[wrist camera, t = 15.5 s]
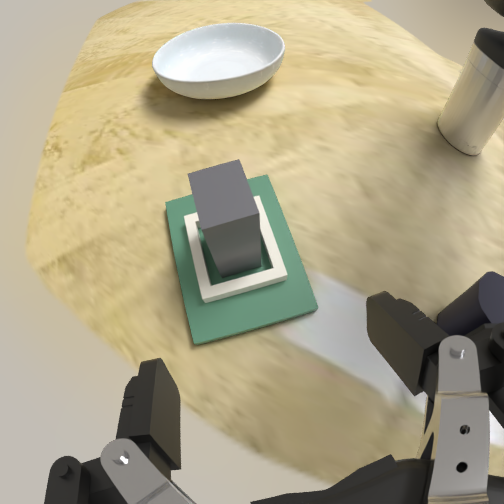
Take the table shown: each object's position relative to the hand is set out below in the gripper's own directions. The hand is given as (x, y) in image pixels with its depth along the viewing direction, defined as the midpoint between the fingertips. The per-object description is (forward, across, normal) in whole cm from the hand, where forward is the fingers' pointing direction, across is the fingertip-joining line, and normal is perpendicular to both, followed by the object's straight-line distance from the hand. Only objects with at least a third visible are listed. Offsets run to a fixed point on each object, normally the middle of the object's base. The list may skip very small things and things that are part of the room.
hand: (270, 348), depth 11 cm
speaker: (+10, -20, +15) cm, 27 cm away
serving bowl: (+43, -6, -18) cm, 47 cm away
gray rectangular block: (+20, 0, +3) cm, 20 cm away
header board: (+20, 0, +4) cm, 21 cm away
